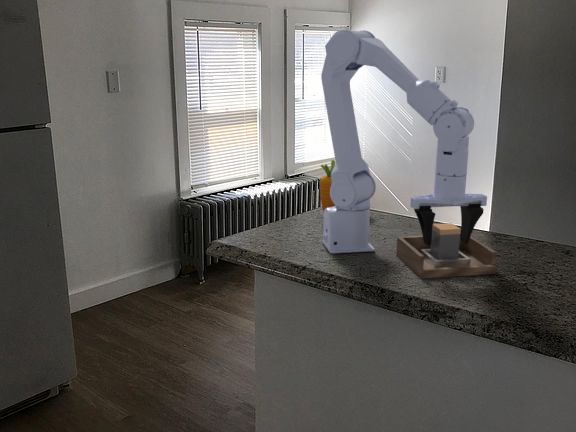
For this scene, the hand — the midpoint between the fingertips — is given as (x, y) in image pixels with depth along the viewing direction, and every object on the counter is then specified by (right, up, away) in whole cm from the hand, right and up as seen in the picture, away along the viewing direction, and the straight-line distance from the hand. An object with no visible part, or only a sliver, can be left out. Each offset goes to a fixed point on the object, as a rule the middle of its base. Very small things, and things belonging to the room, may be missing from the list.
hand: (445, 242), depth 119 cm
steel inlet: (0, -4, +1) cm, 4 cm away
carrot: (-20, +4, +31) cm, 37 cm away
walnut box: (0, -4, +1) cm, 4 cm away
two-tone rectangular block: (0, -4, +1) cm, 4 cm away
